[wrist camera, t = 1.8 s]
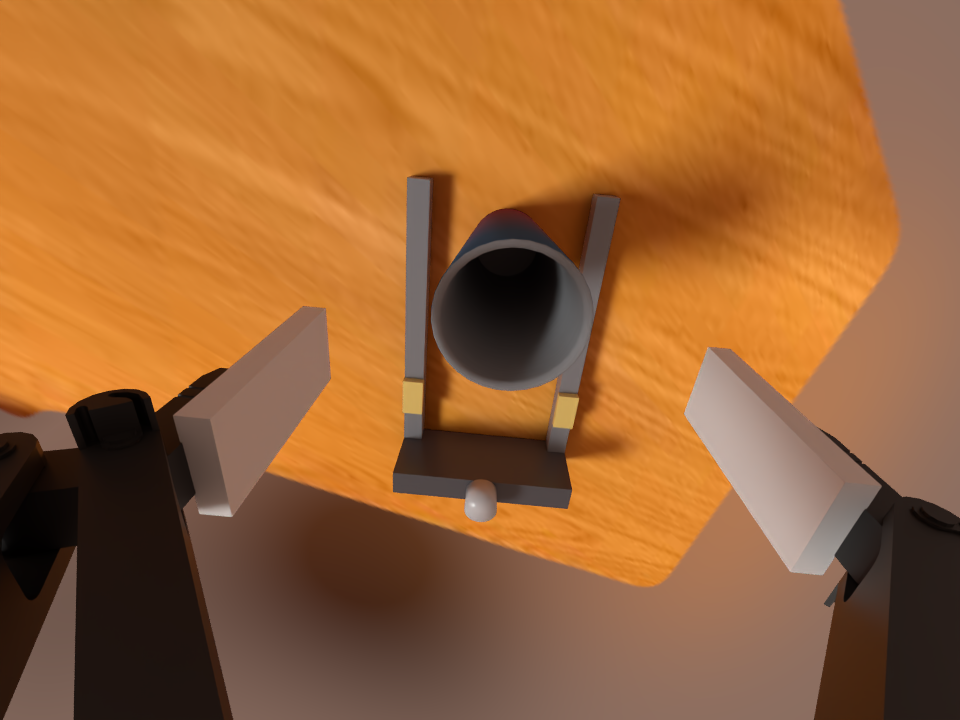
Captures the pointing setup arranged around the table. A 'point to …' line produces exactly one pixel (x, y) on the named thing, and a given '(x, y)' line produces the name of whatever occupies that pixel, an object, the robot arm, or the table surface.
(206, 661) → the robot arm
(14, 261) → the table surface
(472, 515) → the grey u-shaped fork
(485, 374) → the cup
